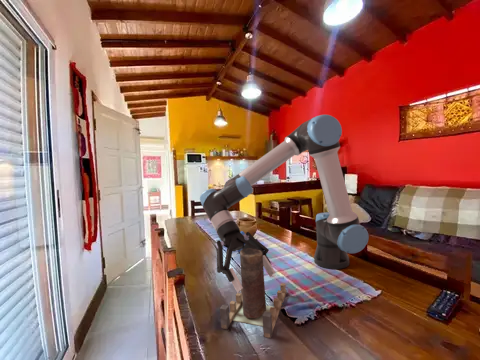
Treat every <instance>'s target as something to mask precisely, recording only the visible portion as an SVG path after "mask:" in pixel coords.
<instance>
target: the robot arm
mask: <svg viewBox="0 0 480 360" xmlns="http://www.w3.org/2000/svg"><path fill="white" fill-rule="evenodd" d="M342 132H343V129H342V125H341V123H340V121H339V120H338V119H337V118H336V117H334V116H332V115H330V114H320V115H316V116H314V117H312V118H310V119H308V120H306V121H304V122H303V123H301V124H300V125H298V126H297V128H295V129H294V130H293V131H292V132H291V133H290V134H288V135H287V136H286V137H284V141H282V142H281V143H280V144H278V145H277V146H275V147H274V148H272V149H271V150H270V151H268V152H267V153H265V154H264V155H263V156H261V157H260V158H259V159H257V160H256V161H254V162H253V163H251V164H250V165H249V166H248V167H246V168H245V169H243V170H241V171H240V172H239V173H238V174H236V175H235V176H234V177H232V178H230V179H228V180H227V181H226V182H225V183H224V186H223V187H222V188H220V189H219V190H217V189H215V188H210V189H206V190H204V191H203V192H202V193H201V194H200V196H199V202H200V203H201V206H202V208H203V211H204V212H205V214H206V216H207V218H208V220H209V221H210V222H211V225H212V226H213V228H214V230H215V232H216V234H217V237H218V238H219V240H217V241H216V242H215V244H214V247H215V250H216V273H218V274H220V273H222V275H225V276H226V278H227V281H228V282H229V283H231V284H232V285H233V287H234V289H235V291H236V294H237V293H241V290H242V288H243V287H242V282H240V281H241V280H239V278H238V276H237V274H236V272H235V270H234V269H233V267H231V268H230V266H231V261H232V258H233V257H232V255H233V252H234V253H235V252H236V251H238V250H240V249H246V248H252V249H257V250H260V251H262V254H263V269H264V270H265V271H266V273H267V274H268V276H269V277H270V278H271V277H272V276H274V275H275V274H276V272H277V271H276V270H275V269H274V268H273V266H272V262H271V261H270V260H271V259H269V257H268V255H267V254H268V253H269V252H270V251H269V248H267V246H265V245H264V244H263V243H261V242H260V241H259V240H258V239H256V238H255V237H254V236H253V235H252V233H250V231H247V232H245V234H244V235H242V234H241V233H240V232H241V230H240V227H239V226H238V224H237V222H236V221H235V218H234V217H233V215H232V214H231V212H230V211H229V209H230V208H231V207H232V206H234V205H235V204H237V203H239V202H240V201H242V200H244V199H245V198H247V197H248V196H250V195H251V194H253V192H254V189H253V185H255V184H256V183H258V182H259V181H260V180H262V179H263V178H265V177H266V176H267V175H269V174H270V173H271V172H273V171H274V170H276V169H277V168H279V167H280V166H281V165H283V164H284V163H286V162H287V161H289V160H290V159H291V158H293V157H294V156H300V155H301V154H302V153H304V152H305V151H308V155H309V156H310V157H312V158H313V159H314V162H315V166H316V169H317V173H318V177H319V180H320V186H321V188H322V193H323V195H324V199H325V203H326V207H327V210H328V212H326V211H325V212H320V213H317V214H316V216H315V230H316V244H317V245H316V248H315V251H314V255H313V261H314V263H315V264H316V266H319V267H320V268H324V269H329V270H340V269H344V268H347V267H349V265H350V257H349V255H348V254H357V253H359V252H361V251H363V250H364V249H365V247H366V245H368V242H369V237H370V236H369V233H368V232H369V231H368V230H367V228H365V226H363V225H361V223H360V219H359V215H358V214H357V213H356V212H354V211H353V210H352V206H351V201H350V197H349V194H348V189H347V185H346V182H345V178H344V173H343V170H342V167H341V162H340V159H339V154H338V152H339V150H340V149H341V145H340V139H341V137H342V134H343V133H342ZM244 244H245V245H244ZM223 247H224V248H225V249H226V252H225V254H226V255H225V259H224V248H223Z"/></svg>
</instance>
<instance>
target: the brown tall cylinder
mask: <svg viewBox="0 0 480 360" xmlns="http://www.w3.org/2000/svg"><path fill="white" fill-rule="evenodd" d="M239 260H240V261H239V262H240V277H241V280H240V281H241V285H242V287H243V288H242V294H241V295H242V301H243V304H242V305H243V314H244V316H245V317H247V318H258V317H260V316H262V315H263V313H264V312H265V311H266V305H267V301H266V299H267V298H266V287H265V285H266V284H265V271H264V270H265V268H264V266H263V254H262V251H260V250H257V249H252V248H246V249H242V250H241V251H240V252H239Z"/></svg>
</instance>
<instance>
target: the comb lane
mask: <svg viewBox="0 0 480 360" xmlns="http://www.w3.org/2000/svg"><path fill="white" fill-rule="evenodd" d="M279 286H280V289H278V290H277V292H276V298H274V299H273V305H267V304H266V311H265V312H264V313H263V315H262V316H260V317H258V318H247V317H245V316H244V314H243V301H242V290H241V291H240V292H238V293H237V292H236V294H235V300H231V301H230V302H229V305H226V304H222V305H221V306H220V308H219V318H220V328H221V329H223V330H228V329H229V328H230V326H231V323H232V321H233V322H237V323H242V324H249V325H253V326H257V327H258V326H259V327H262V329H263V337H264V338H267V339H272V336H273V334H274V333H273V331H274V328H275V325H276V323H277V320H278V318H279V315H280V312H281V310H282V307H281V306H283V304H284V301H285V299H286V297H287V292H288V291H287V289H286V288H287V287H286V283H282V282H281V283H280V285H279ZM284 298H285V299H284ZM282 303H283V304H282Z"/></svg>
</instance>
